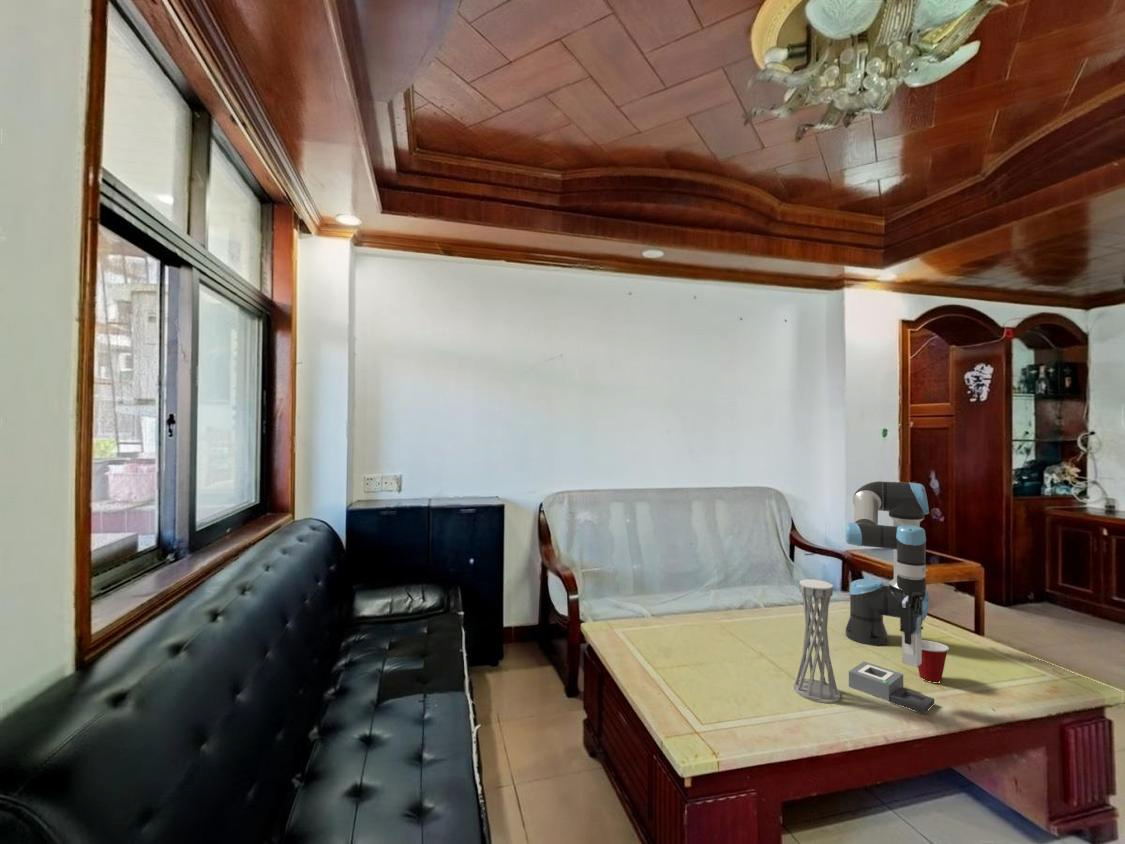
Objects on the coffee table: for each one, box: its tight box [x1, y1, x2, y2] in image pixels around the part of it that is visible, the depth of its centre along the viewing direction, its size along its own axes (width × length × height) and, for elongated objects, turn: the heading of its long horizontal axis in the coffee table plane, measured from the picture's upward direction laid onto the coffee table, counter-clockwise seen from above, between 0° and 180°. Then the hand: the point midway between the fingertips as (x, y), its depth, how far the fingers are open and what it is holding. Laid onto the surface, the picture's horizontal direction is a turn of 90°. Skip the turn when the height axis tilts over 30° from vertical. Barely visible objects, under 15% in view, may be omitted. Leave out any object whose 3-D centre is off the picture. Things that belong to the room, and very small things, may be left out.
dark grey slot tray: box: [889, 687, 935, 715], centre depth 161 cm, size 9×9×2 cm
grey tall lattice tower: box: [793, 578, 841, 704], centre depth 168 cm, size 14×13×35 cm
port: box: [848, 661, 904, 701], centre depth 171 cm, size 12×12×5 cm
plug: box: [901, 614, 922, 668], centre depth 161 cm, size 4×4×15 cm
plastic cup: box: [917, 639, 950, 682], centre depth 177 cm, size 11×11×12 cm
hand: (911, 651), depth 161 cm, fingers closed on plug, 4 cm apart
